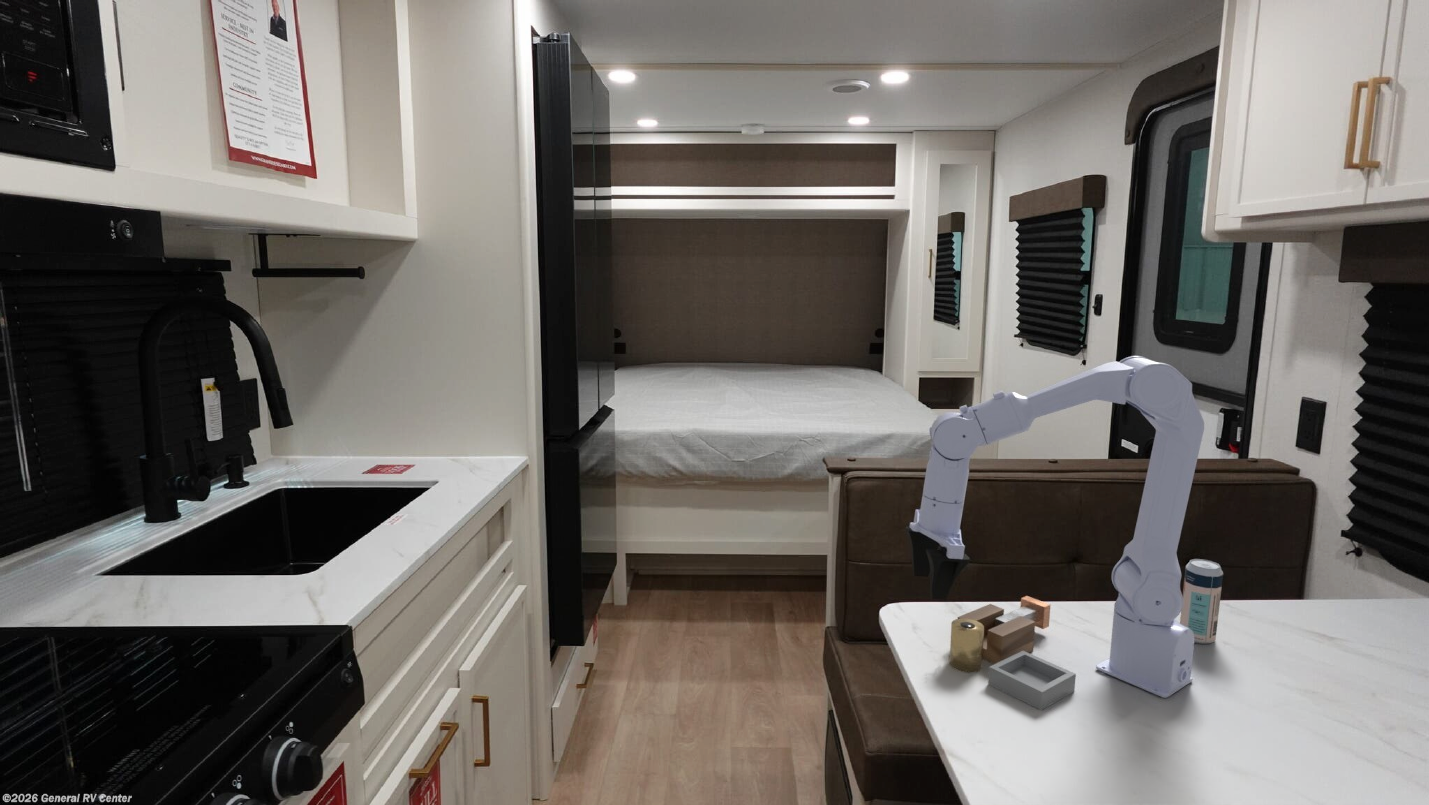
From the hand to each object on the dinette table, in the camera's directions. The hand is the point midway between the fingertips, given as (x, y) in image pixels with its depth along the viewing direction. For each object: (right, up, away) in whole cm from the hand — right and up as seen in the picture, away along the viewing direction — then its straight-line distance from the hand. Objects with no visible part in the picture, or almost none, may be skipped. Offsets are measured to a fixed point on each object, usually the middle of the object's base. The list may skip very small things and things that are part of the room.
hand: (929, 586), depth 110 cm
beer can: (+43, -10, +6) cm, 44 cm away
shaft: (+16, -8, +6) cm, 19 cm away
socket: (+12, -12, -8) cm, 18 cm away
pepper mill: (+5, -11, -1) cm, 12 cm away
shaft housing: (+11, -10, +3) cm, 15 cm away
